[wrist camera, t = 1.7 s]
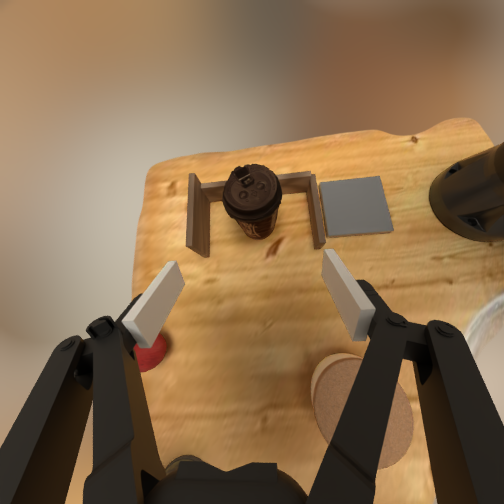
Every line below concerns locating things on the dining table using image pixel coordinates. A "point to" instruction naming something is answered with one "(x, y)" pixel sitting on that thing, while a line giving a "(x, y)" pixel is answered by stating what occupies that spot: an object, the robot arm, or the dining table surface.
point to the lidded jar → (335, 396)
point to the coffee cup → (253, 199)
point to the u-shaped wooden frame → (213, 192)
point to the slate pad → (354, 207)
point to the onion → (151, 354)
